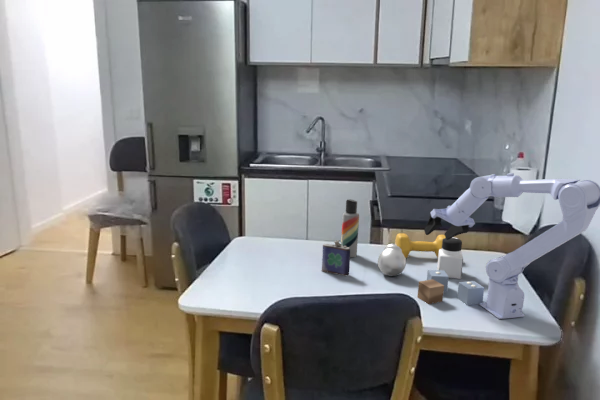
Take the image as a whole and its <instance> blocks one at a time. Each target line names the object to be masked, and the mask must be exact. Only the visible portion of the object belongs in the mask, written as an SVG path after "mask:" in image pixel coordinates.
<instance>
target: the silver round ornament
mask: <svg viewBox="0 0 600 400" xmlns="http://www.w3.org/2000/svg"><path fill="white" fill-rule="evenodd" d="M377 265H378V268H379V271H380V272H381V273H383V274H384V275H385V276H388V277H395V276H398V275H401V274H402V272H403V271H404V270H405V268H406V265H407V258H405V256H404V254H403V253H402V249H401V248H400V247H399V246H396V245H395V243H389V244H387V245H385V246H384V249H383V251H381V252H380V253H379V256H378V258H377Z"/></svg>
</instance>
